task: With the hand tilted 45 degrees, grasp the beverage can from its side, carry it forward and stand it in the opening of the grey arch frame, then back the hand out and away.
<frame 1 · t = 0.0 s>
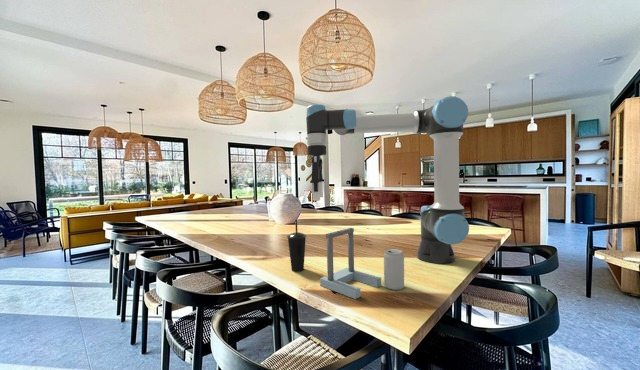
hand: (318, 198, 109), 28 cm above the table, tool pointing down, fingers open, 13 cm apart
grey arch frame: (351, 285, 92), on the table
beverage can: (394, 287, 90), on the table
drinking cup: (297, 270, 109), on the table
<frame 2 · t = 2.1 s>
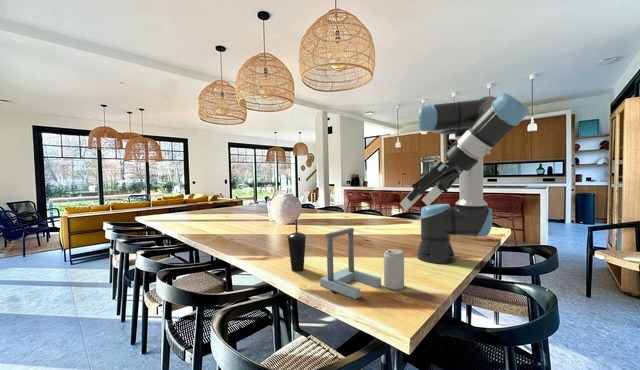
hand: (414, 204, 83), 28 cm above the table, tool tilted 45°, fingers open, 13 cm apart
nothing on the table moved.
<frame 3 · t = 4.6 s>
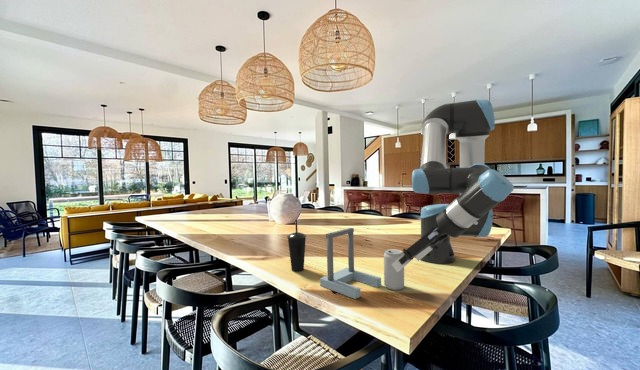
hand: (405, 262, 85), 10 cm above the table, tool tilted 45°, fingers open, 13 cm apart
nothing on the table moved.
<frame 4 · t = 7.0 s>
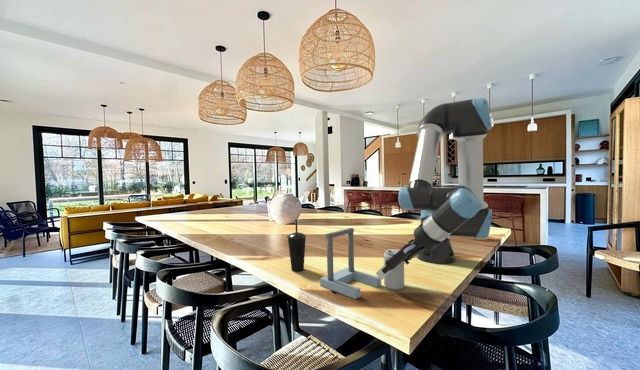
hand: (384, 273, 92), 4 cm above the table, tool tilted 45°, fingers closed on beverage can, 6 cm apart
beverage can: (394, 287, 90), on the table, touching gripper
everything else where it was.
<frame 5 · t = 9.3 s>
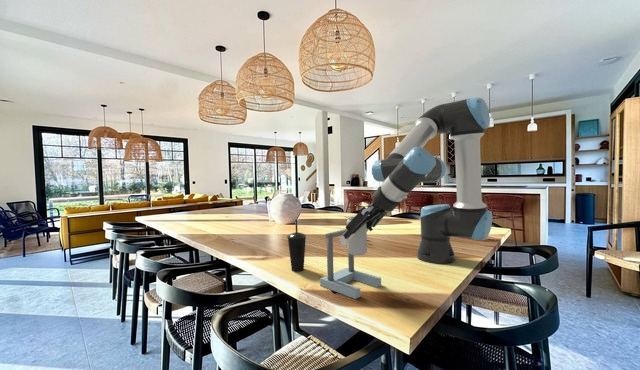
hand: (348, 240, 92), 15 cm above the table, tool tilted 45°, fingers closed on beverage can, 6 cm apart
beverage can: (357, 253, 90), point 11 cm above the table, touching gripper
everything else where it was.
when the fingers open (5 cm above the table, at t = 11.9 s): beverage can drops 1 cm, on the table.
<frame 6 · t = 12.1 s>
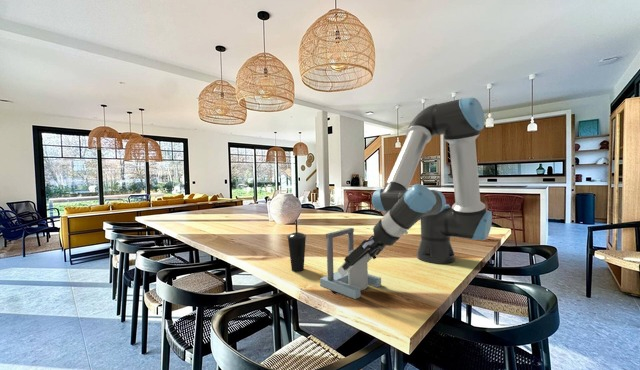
hand: (349, 269, 92), 5 cm above the table, tool tilted 45°, fingers open, 9 cm apart
beverage can: (358, 288, 90), on the table
everything else where it was.
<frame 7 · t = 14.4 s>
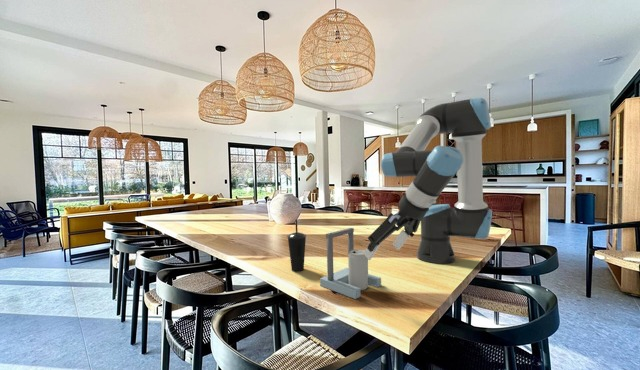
hand: (381, 251, 85), 13 cm above the table, tool tilted 40°, fingers open, 13 cm apart
nothing on the table moved.
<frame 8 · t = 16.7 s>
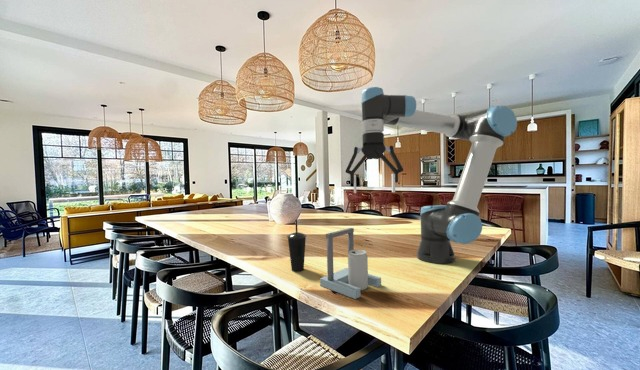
hand: (374, 192, 98), 31 cm above the table, tool pointing down, fingers open, 13 cm apart
nothing on the table moved.
at the end: beverage can inside the target area (0.4 cm from its centre), on the table; beverage can tilted 1°; the gripper is holding nothing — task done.
